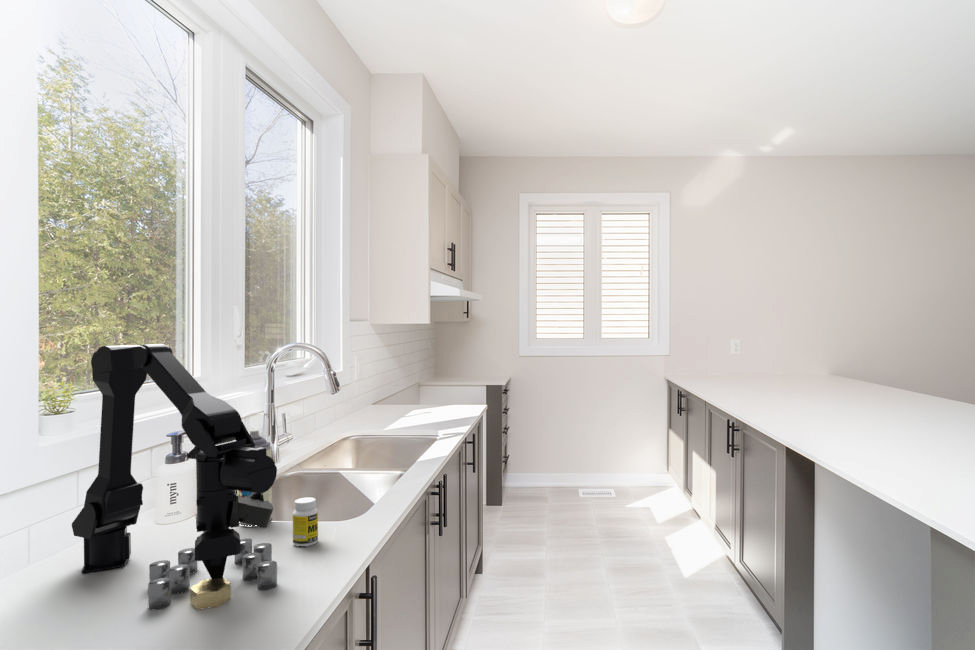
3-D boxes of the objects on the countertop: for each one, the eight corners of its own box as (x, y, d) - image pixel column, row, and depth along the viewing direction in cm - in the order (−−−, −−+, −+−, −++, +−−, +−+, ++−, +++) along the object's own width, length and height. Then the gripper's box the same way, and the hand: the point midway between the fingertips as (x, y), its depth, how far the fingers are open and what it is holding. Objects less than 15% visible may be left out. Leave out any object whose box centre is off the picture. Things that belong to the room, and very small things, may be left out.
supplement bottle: (310, 548, 112) (310, 504, 112) (288, 546, 113) (287, 503, 113) (322, 539, 117) (321, 497, 117) (300, 537, 118) (300, 496, 118)
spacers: (143, 613, 87) (143, 590, 87) (152, 573, 101) (152, 553, 101) (278, 587, 95) (277, 565, 95) (269, 553, 110) (268, 534, 110)
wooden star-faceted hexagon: (200, 612, 87) (200, 596, 87) (187, 600, 91) (186, 584, 91) (234, 601, 91) (234, 585, 91) (219, 589, 95) (219, 574, 95)
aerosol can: (232, 523, 127) (231, 431, 127) (260, 514, 132) (259, 426, 133) (250, 529, 123) (248, 434, 123) (278, 520, 128) (277, 429, 128)
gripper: (275, 494, 90) (276, 595, 89) (264, 468, 106) (265, 554, 106) (193, 505, 85) (195, 612, 85) (195, 476, 101) (197, 566, 101)
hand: (217, 583), depth 94 cm, fingers closed
